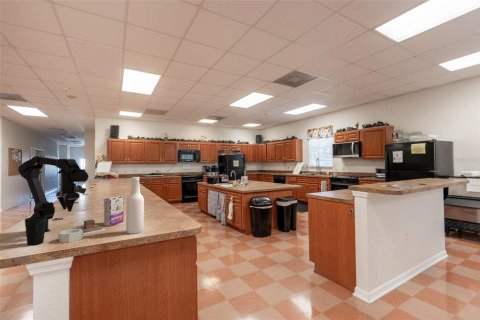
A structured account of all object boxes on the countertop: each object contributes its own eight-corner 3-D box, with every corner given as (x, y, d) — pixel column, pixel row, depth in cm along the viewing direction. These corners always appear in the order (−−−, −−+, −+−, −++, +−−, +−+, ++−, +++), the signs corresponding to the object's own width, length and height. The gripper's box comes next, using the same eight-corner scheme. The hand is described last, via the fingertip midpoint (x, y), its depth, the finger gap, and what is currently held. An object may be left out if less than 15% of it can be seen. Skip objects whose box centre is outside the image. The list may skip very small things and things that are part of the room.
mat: (72, 230, 125) (72, 229, 125) (96, 226, 135) (96, 225, 135) (80, 235, 117) (80, 234, 117) (106, 230, 126) (106, 229, 126)
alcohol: (144, 232, 122) (145, 177, 123) (126, 235, 118) (127, 177, 118) (142, 228, 130) (143, 176, 130) (125, 230, 125) (126, 177, 126)
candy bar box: (117, 221, 146) (117, 196, 147) (123, 221, 145) (123, 196, 146) (103, 225, 135) (103, 198, 136) (110, 226, 134) (110, 198, 135)
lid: (75, 230, 125) (75, 221, 125) (95, 226, 133) (96, 217, 133) (81, 233, 119) (81, 223, 119) (102, 229, 126) (102, 220, 127)
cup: (33, 241, 108) (34, 216, 109) (50, 240, 109) (50, 215, 109) (19, 247, 101) (19, 220, 101) (37, 246, 101) (38, 219, 102)
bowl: (56, 240, 110) (57, 231, 110) (78, 235, 117) (78, 227, 117) (62, 244, 104) (62, 235, 105) (84, 239, 112) (85, 230, 112)
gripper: (90, 181, 123) (90, 210, 122) (79, 180, 134) (79, 206, 134) (65, 183, 114) (65, 213, 114) (55, 181, 126) (55, 209, 125)
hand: (67, 210), depth 122 cm, fingers open, 9 cm apart
